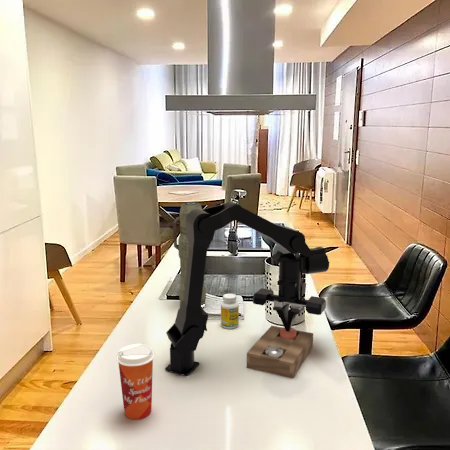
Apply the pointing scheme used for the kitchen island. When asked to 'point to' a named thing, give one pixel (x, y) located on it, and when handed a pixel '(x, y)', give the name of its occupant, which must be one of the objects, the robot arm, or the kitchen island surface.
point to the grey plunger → (274, 351)
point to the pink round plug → (288, 333)
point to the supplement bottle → (229, 311)
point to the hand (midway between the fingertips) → (288, 330)
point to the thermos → (185, 246)
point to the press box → (292, 348)
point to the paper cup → (136, 379)
